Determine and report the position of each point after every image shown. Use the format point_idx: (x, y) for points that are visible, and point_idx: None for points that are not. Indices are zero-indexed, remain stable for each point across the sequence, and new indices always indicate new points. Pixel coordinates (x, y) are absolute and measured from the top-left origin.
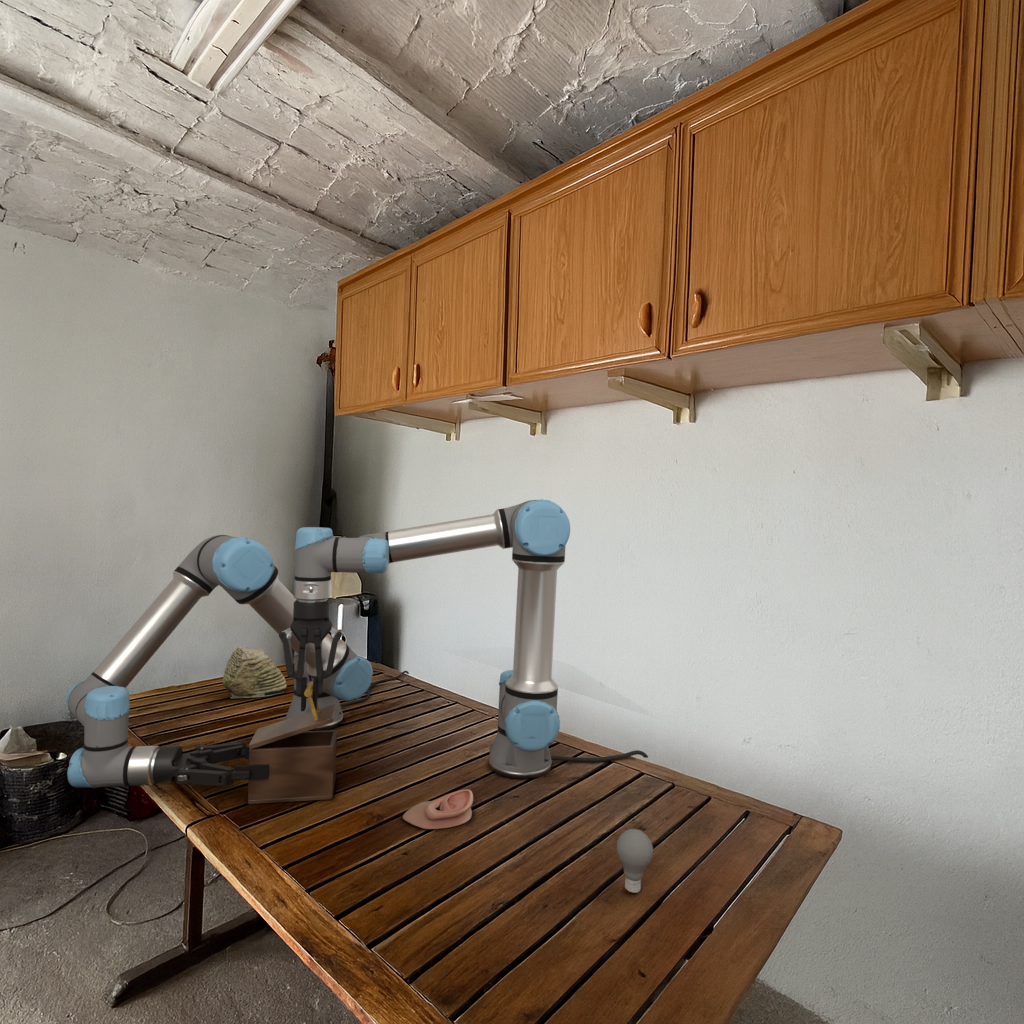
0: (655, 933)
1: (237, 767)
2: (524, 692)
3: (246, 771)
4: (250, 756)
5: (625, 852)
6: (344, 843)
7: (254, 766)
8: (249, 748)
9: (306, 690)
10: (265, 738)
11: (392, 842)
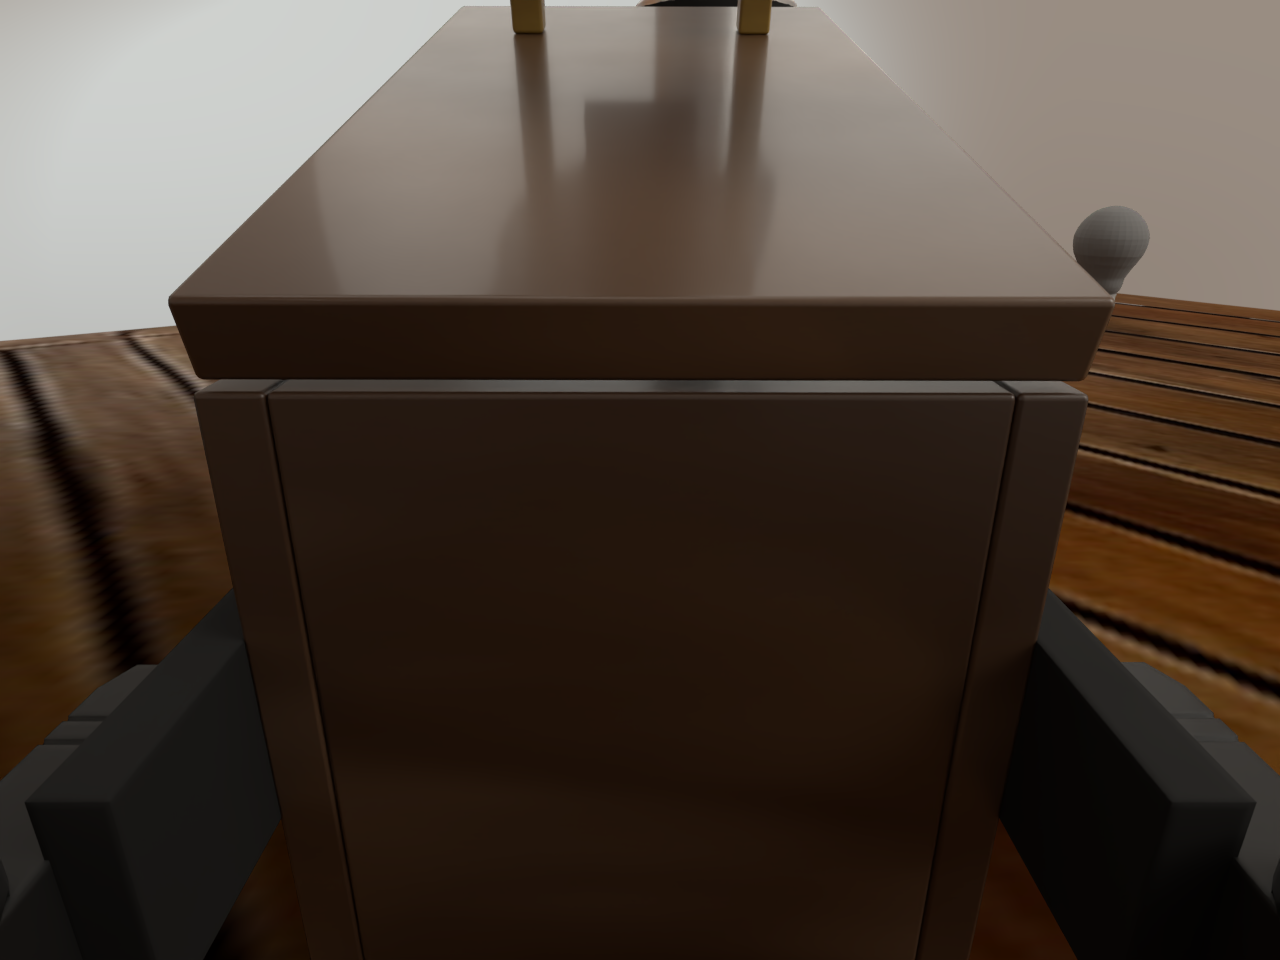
0: (1205, 322)
1: (1203, 771)
2: (792, 5)
3: (1173, 690)
4: (1053, 500)
5: (1146, 236)
6: (1203, 539)
7: (1049, 596)
8: (167, 761)
9: None
10: (938, 187)
11: (1102, 462)
